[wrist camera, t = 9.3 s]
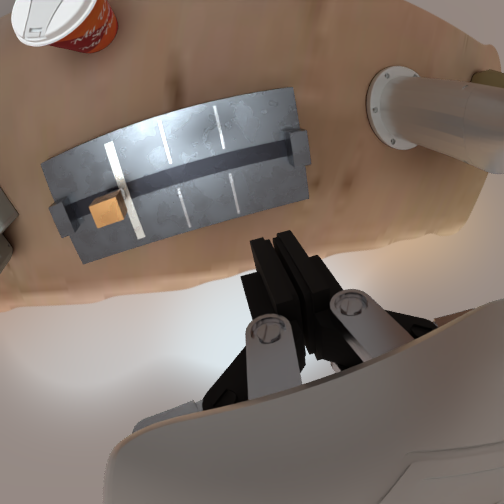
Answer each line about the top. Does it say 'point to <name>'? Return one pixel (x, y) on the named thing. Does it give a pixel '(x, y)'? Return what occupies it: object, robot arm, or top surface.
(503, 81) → the squeeze bottle
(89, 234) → the grey slider board
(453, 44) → the top surface
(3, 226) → the digital clock
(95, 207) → the fader tab
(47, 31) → the paper cup
